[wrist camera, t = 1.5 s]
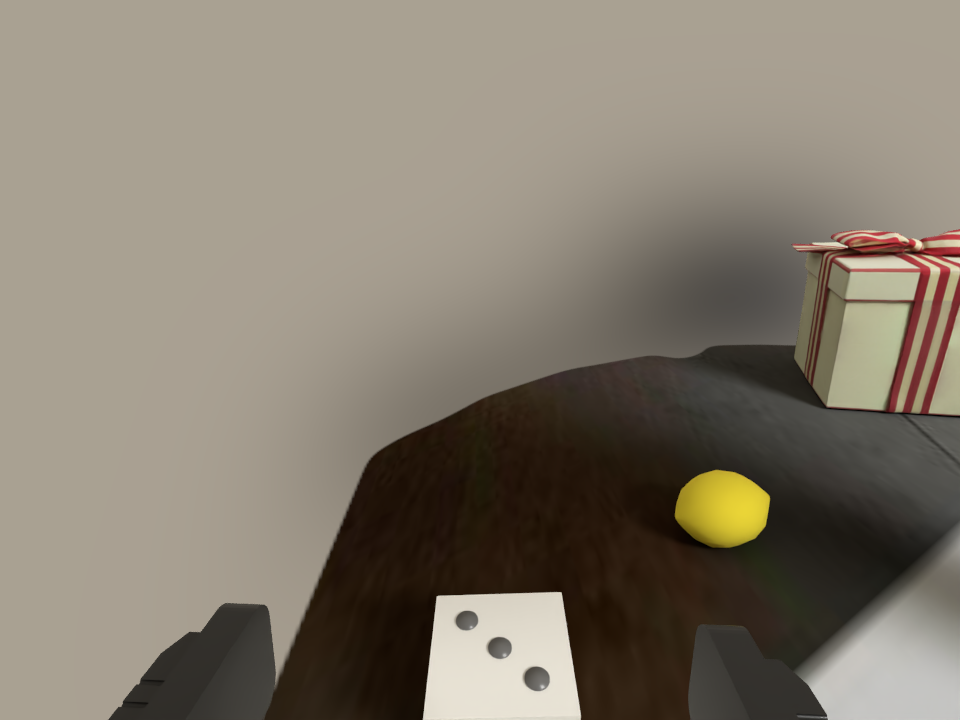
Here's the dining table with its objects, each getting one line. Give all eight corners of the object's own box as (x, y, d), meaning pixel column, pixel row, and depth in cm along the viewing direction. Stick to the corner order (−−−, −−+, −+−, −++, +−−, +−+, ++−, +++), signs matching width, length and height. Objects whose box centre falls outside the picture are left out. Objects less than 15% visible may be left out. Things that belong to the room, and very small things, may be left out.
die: (446, 681, 31) (436, 594, 28) (561, 679, 31) (561, 590, 28) (436, 813, 25) (422, 717, 22) (578, 811, 25) (580, 713, 22)
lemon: (693, 573, 38) (690, 512, 36) (662, 522, 43) (658, 466, 41) (790, 552, 38) (793, 490, 36) (749, 504, 43) (749, 447, 41)
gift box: (907, 351, 69) (944, 213, 63) (1007, 423, 53) (1071, 244, 46) (763, 349, 73) (783, 217, 66) (814, 415, 56) (847, 248, 49)
